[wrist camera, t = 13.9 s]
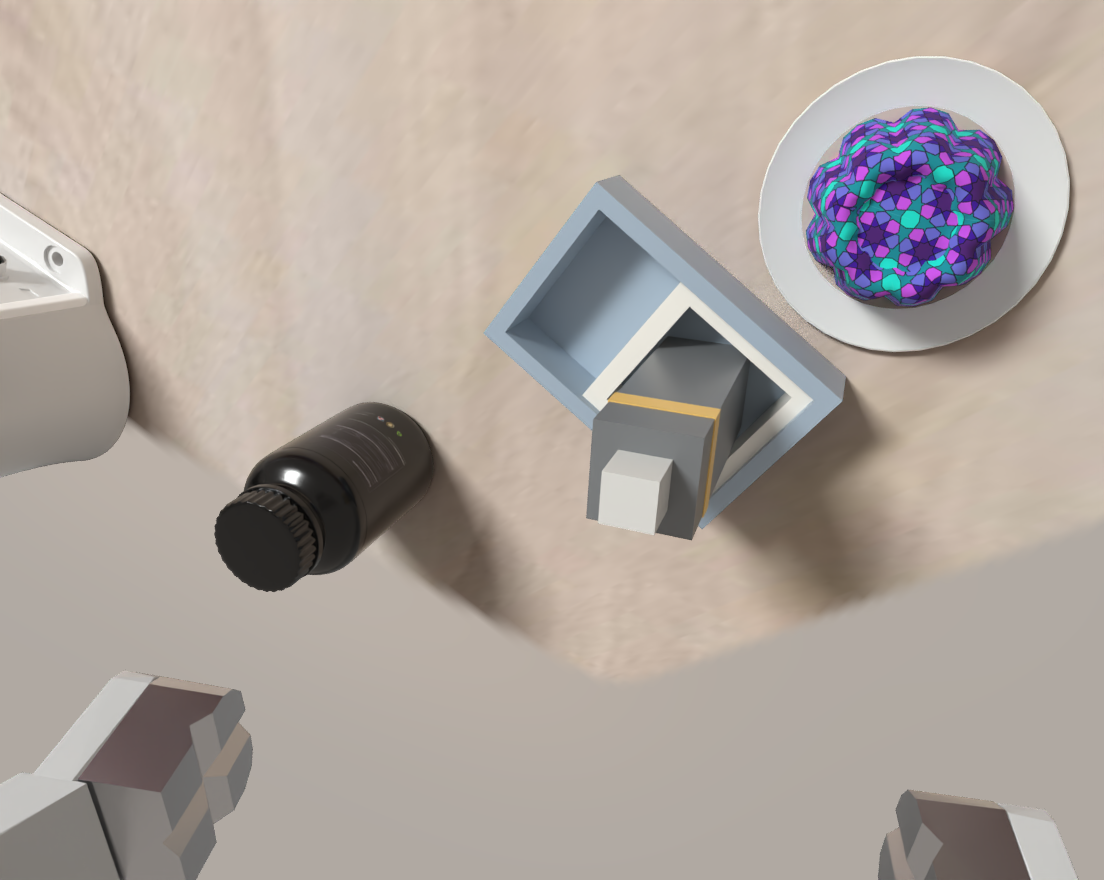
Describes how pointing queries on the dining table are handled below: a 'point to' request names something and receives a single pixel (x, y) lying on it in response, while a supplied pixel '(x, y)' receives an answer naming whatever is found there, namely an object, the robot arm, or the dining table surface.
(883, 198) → the pudding
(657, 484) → the grey bottle
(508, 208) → the dining table surface
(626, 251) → the walled box
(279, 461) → the supplement bottle
